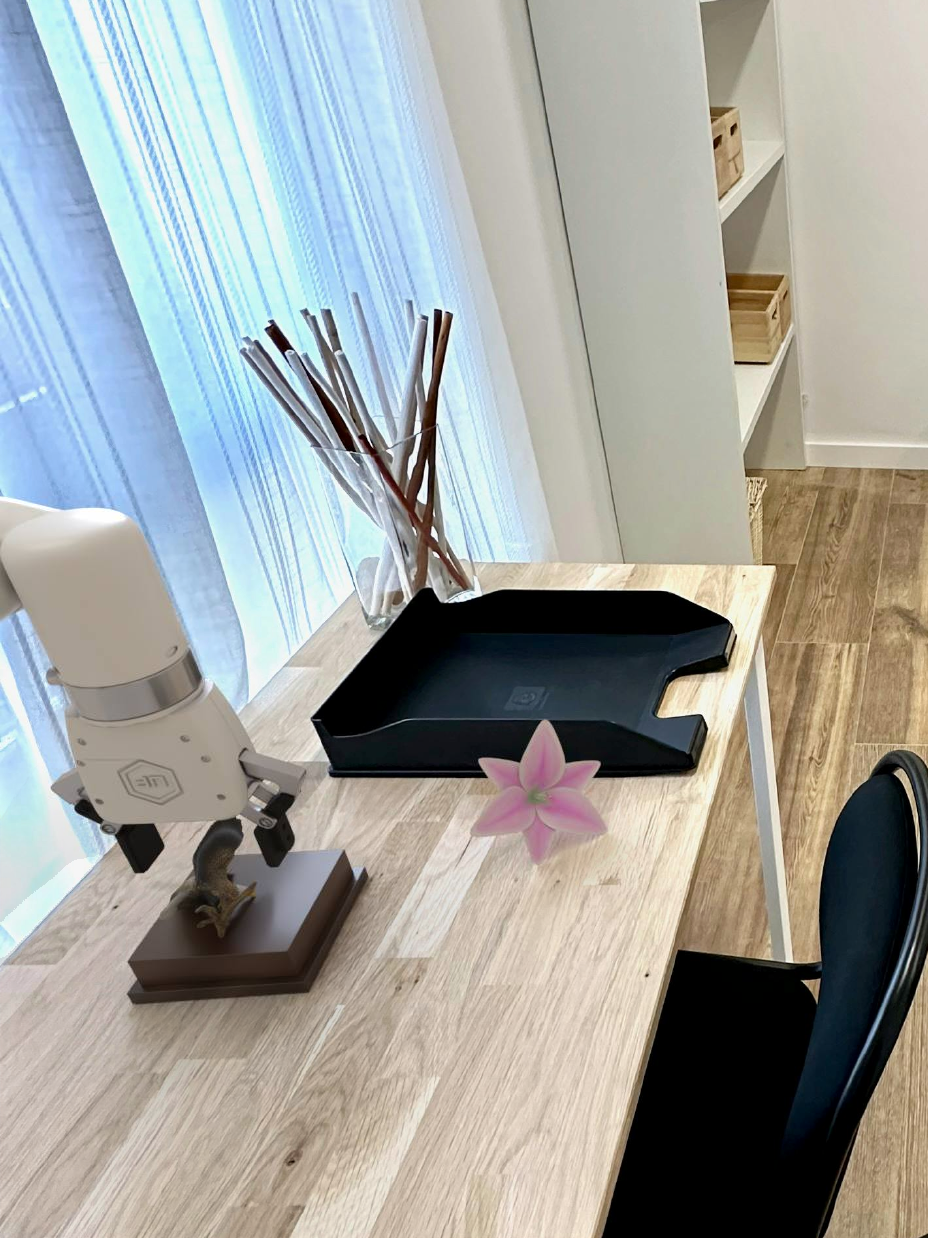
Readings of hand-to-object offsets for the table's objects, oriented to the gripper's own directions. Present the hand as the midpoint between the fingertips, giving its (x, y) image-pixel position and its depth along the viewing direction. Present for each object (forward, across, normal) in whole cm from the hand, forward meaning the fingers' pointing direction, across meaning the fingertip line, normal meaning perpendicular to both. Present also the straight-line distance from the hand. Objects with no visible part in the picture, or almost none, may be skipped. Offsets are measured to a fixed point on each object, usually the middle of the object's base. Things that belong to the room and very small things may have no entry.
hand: (216, 858), depth 86 cm
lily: (+9, +22, +11) cm, 26 cm away
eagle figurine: (+5, -1, 0) cm, 5 cm away
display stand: (+9, 0, 0) cm, 9 cm away
